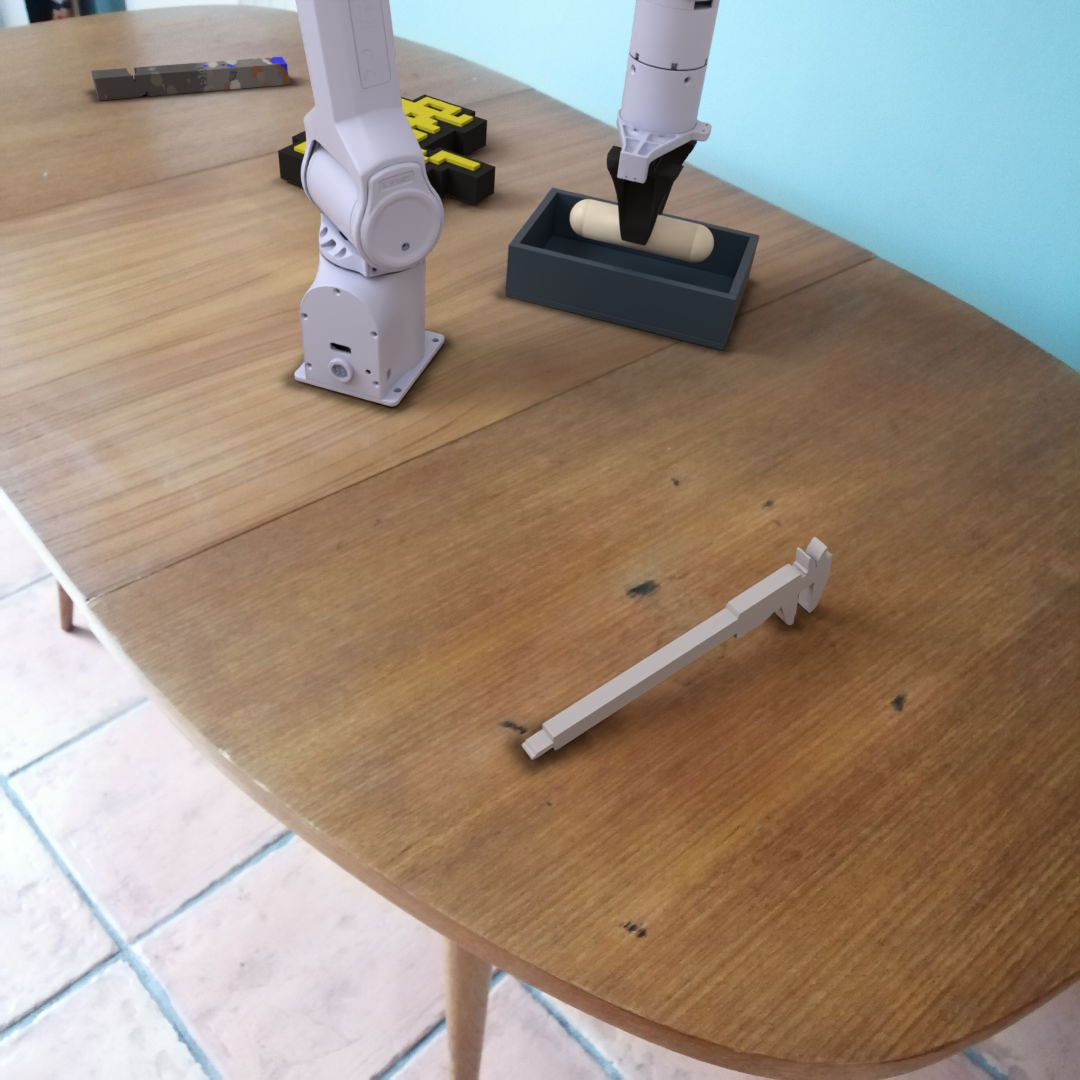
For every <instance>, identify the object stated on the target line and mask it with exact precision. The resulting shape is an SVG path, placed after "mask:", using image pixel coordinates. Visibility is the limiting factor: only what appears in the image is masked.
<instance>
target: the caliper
mask: <svg viewBox="0 0 1080 1080" xmlns="http://www.w3.org/2000/svg"><path fill="white" fill-rule="evenodd" d="M795 551H796V552H795V561H794V562H792V563H793V564H790V563H787V564H785V565H783V566H781V567H780V568H779V569H777V570H776V571H774V572H772V573H771V574H769V575H768V576H766V577H765V578H763V579H761V580H759V582H757V583H755V584H754V585H752V586H750V587H749V588H748V589H746V590H744V591H743V592H741V593H739V594H738V595H737V596H735V597H734V598H732V599H731V600H729V601H728V602H727V603H726V605H725V608H723V609H721V610H720V611H718V612H717V613H715V614H713V615H712V616H710V617H708V618H707V619H706V620H703V621H702V622H701V623H699V624H697V625H696V626H695V627H693V628H691V629H689V630H688V631H686V632H684V634H682V635H680V636H679V637H677V638H675V639H674V640H672V641H670V642H669V643H668V644H666V645H664V646H663V647H661V648H659V649H658V650H656V651H655V652H654V653H652V654H650V655H649V656H647V657H645V658H644V659H642V660H641V661H639V662H637V663H636V664H634V665H633V666H631V667H629V668H627V669H626V670H625V671H623V672H622V673H620V674H619V675H617V676H616V677H613V678H612V679H611V680H609V681H607V682H606V683H604V684H602V685H601V686H599V687H597V689H595V690H594V691H592V692H590V693H588V694H587V695H585V696H584V697H582V698H581V699H579V700H577V701H576V702H574V703H573V704H571V705H570V706H568V707H566V708H565V709H564V710H562V711H560V712H559V713H557V714H556V715H553V716H552V717H550V719H548V720H546V721H545V722H543V723H542V727H541V728H542V729H540V730H538V731H537V732H536V733H534V734H533V735H531V736H529V737H528V738H526V739H525V741H524V742H522V744H521V747H522V748H523V750H524V751H525V752H526V754H527V756H528V757H529V758H530V759H531V760H535V759H537V758H539V757H540V756H542V755H544V754H545V753H546V752H548V751H550V750H551V749H552V750H554V751H558V750H560V749H561V748H563V747H564V746H565V745H567V744H568V743H570V742H572V741H573V740H575V739H576V738H578V737H579V736H580V735H582V734H584V733H585V732H587V731H589V730H590V729H592V728H593V727H595V726H596V725H598V724H599V723H601V722H602V721H604V720H605V719H606V718H609V717H610V716H611V715H613V714H614V713H616V712H617V711H619V710H620V709H622V708H624V707H625V706H627V705H628V704H630V703H631V702H633V701H634V700H636V699H638V698H639V697H640V696H642V695H644V694H645V693H646V692H648V691H650V690H652V689H653V688H654V687H656V686H657V685H659V684H660V683H662V682H663V681H665V680H667V679H669V678H670V677H671V676H673V675H674V674H676V673H678V672H679V671H681V670H682V669H684V668H685V667H687V666H688V665H690V664H692V663H693V662H695V661H696V660H698V659H699V658H701V657H703V656H704V655H705V654H707V653H708V652H711V650H713V649H715V648H716V647H719V645H721V644H722V643H725V642H726V641H728V640H729V639H731V638H732V637H734V639H735V640H740V639H741V638H743V637H744V636H745V635H746V634H748V633H749V632H750V631H752V630H754V629H756V628H758V627H759V626H761V625H762V624H763V623H765V621H767V620H768V619H770V617H772V616H773V615H772V614H773V613H775V614H776V615H777V617H779V618H780V619H781V620H782V621H783V622H784V623H785V624H786V625H787V626H788V625H789V626H792V625H794V622H795V617H796V614H797V611H798V610H797V609H798V604H799V605H800V606H801V607H802V608H803V609H804V610H805V611H807V612H808V613H809V614H811V613H812V611H814V610H815V608H817V607H818V604H819V602H820V600H821V597H822V595H823V592H824V590H825V588H826V585H827V582H828V580H829V578H830V575H831V569H832V563H833V554H832V553H831V552H830V551H829V550H828V546H827V545H826V544H824V543H823V542H822V541H821V540H820V539H819V538H818V537H816V536H813V538H812V539H811V540H810V541H809V543H808V545H807V547H806V549H805V550H804V549H802V548H801V547H800V546H797V548H796V550H795Z"/></svg>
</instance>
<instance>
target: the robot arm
mask: <svg viewBox="0 0 1080 1080" xmlns="http://www.w3.org/2000/svg"><path fill="white" fill-rule="evenodd" d="M720 1H721V0H635V4H634V5H635V6H634V12H633V19H632V26H631V34H630V40H629V49H628V56H627V63H626V70H625V76H624V82H623V83H624V84H623V91H622V99H621V107H620V109H618V111H617V115H616V127H617V134H618V137H619V142H620V146H619V145H618V146H617V145H613V146H611V148H610V149H609V151H608V152H607V155H606V169H607V171H608V173H609V175H610V177H611V178H610V179H611V181H612V183H613V186H614V191H615V194H616V202H617V203H618V213H619V227H620V235H621V240H623V241H627V242H631V243H635V244H639V245H646V243H647V242H648V240H649V238H650V236H651V233H652V231H653V229H654V226H655V223H656V220H657V217H658V215H662V213H664V210H665V208H666V204H667V202H668V199H669V197H670V194H671V191H672V188H673V185H674V183H675V182H676V180H677V179H678V177H679V176H680V175H681V173H682V171H683V169H684V167H685V166H684V165H683V164H684V163H685V161H686V159H688V157H689V155H690V154H691V153H692V152H693V151H694V149H695V147H696V146H697V144H698V142H706V141H708V140H709V138H710V136H711V132H712V128H713V126H712V124H710V123H709V122H705V121H701V120H699V119H698V115H699V111H700V105H701V100H702V96H703V91H704V90H703V89H704V84H705V78H706V74H707V69H708V63H709V60H710V59H709V58H710V54H711V49H712V44H713V37H714V33H715V28H716V21H717V18H718V13H719V6H720ZM390 4H391V3H390V0H295V5H296V12H297V17H298V22H299V27H300V32H301V38H302V43H303V47H304V49H303V50H304V53H305V58H306V65H307V70H308V74H309V75H308V76H309V80H310V85H311V86H310V87H311V90H312V91H311V92H312V97H313V102H314V107H313V108H311V110H309V111H308V112H307V113H306V114H305V116H304V117H303V126H304V131H306V150H305V154H304V158H303V161H302V166H301V181H302V186H303V187H302V186H301V187H302V188H303V191H304V194H305V196H306V197H307V199H308V200H309V201H310V203H311V204H312V205H313V206H314V207H316V208H317V209H318V210H319V211H320V212H319V213H320V215H319V216H320V226H319V230H318V231H319V232H318V248H319V251H318V252H319V261H318V267H317V272H316V275H315V277H314V279H313V281H312V284H311V285H310V286H309V288H308V290H307V291H306V292H305V293H304V295H303V297H302V299H301V302H300V306H299V319H300V321H299V322H300V330H301V331H300V332H301V340H302V341H301V342H302V351H303V353H302V354H303V362H302V364H301V365H300V366H299V367H298V368H297V369H296V370H295V371H294V379H295V380H296V381H298V382H301V383H305V384H308V385H312V386H315V387H317V388H323V389H326V390H329V391H333V392H336V393H340V394H344V395H349V396H351V397H355V398H359V399H362V400H365V401H370V402H374V403H377V404H381V405H384V406H387V407H396V406H398V405H399V404H400V402H401V401H402V399H403V398H404V397H405V396H406V394H407V393H408V391H410V389H411V388H412V386H413V385H414V383H415V382H416V381H417V380H418V379H419V377H420V375H421V374H422V373H423V372H424V370H425V369H426V368H427V366H428V365H429V364H430V362H431V361H432V360H433V358H434V357H435V355H437V353H438V351H440V349H441V348H442V346H443V344H444V343H445V340H446V339H445V338H446V337H445V335H443V334H442V333H438V332H434V331H430V330H428V329H427V330H426V275H427V274H426V273H427V272H426V267H427V266H426V264H427V257H428V256H429V255H430V254H431V253H432V251H433V250H434V249H435V247H436V246H437V244H438V242H439V240H440V238H441V235H442V233H443V230H444V225H445V209H444V205H443V202H442V199H440V197H439V195H438V194H437V192H436V191H435V190H434V188H433V187H432V186H431V184H430V182H429V180H428V177H427V174H426V169H425V160H424V155H423V152H422V150H421V148H420V146H419V143H418V141H417V139H416V137H415V135H414V132H413V130H412V128H411V126H410V124H409V122H408V120H407V118H406V115H405V113H404V111H403V108H402V100H401V97H402V94H401V85H400V84H401V83H400V76H399V68H398V60H397V52H396V45H395V37H394V36H395V35H394V29H393V20H392V13H391V5H390Z"/></svg>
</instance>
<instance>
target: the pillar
mask: <svg viewBox="0 0 1080 1080" xmlns="http://www.w3.org/2000/svg"><path fill="white" fill-rule="evenodd" d="M133 70H134V75H133V74H131V73H130V72H129V71H128V69H127V68H126V67H124V68H110V69H95V70H90V71H91V72H90V73H91V77H92V80H93V85H94V90H95V95H96V96H97V100H98V101H110V100H120V99H133V98H142V96H148V97H156V96H169V95H179V94H180V95H181V94H191V93H192V94H193V93H204V92H205V93H206V92H215V91H216V92H217V91H228V90H238V89H239V90H240V89H251V88H263V87H274V86H275V87H276V86H287V85H291V81H292V78H291V76H289V71H288V63H287V62H286V60H285V59H284V58H283V56H271V57H270V56H269V57H258V58H257V57H256V58H243V59H231V60H230V59H229V60H217V61H204V62H190V63H189V62H188V63H177V64H165V65H163V64H161V65H149V66H137V67H133Z"/></svg>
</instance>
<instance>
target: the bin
mask: <svg viewBox="0 0 1080 1080" xmlns="http://www.w3.org/2000/svg"><path fill="white" fill-rule="evenodd" d="M585 199H592V200H596V201H601V202H605V203H609V204H614V205H618V202H617V201H612V200H608V199H603V198H600V197H595V196H591V195H587V194H582V193H578V192H574V191H570V190H565V189H562V188H561V189H560V188H556V187H551V189H550V190H549V191H548V192H547V194H546V195H545V196H544V198H543V199H542V201H540V203H539V204H538V205H537V207H535V210H534V211H533V212H532V213H531V215H530V216H529V218H528V219H527V220H526V221H525V223H524V224H523V225H522V227H521V228H520V229H519V231H518V232H517V233H516V235H515V236H514V237H513V239H512V240H511V241H510V243H509V244H508V246H507V247H508V248H507V260H506V263H507V264H506V276H505V278H506V279H505V292H504V296H506V297H509V298H513V299H516V300H521V301H525V302H529V303H532V304H536V305H540V306H545V307H548V308H553V309H556V310H560V311H564V312H569V313H572V314H577V315H581V316H583V317H584V316H585V317H588V318H592V319H596V320H600V321H605V322H608V323H612V324H616V325H620V326H624V327H628V328H631V329H635V330H640V331H643V332H644V331H645V332H648V333H652V334H656V335H660V336H664V337H668V338H672V339H676V340H679V341H683V342H688V343H690V344H695V345H700V346H703V347H707V348H712V349H715V350H719V351H724V350H725V347H726V344H727V341H728V338H729V336H730V333H731V330H732V327H733V324H734V321H735V318H736V316H737V313H738V310H739V308H740V304H741V302H742V299H743V297H744V294H745V291H746V289H747V286H748V284H749V283H748V282H749V279H750V275H751V272H752V266H753V263H754V259H755V254H756V251H757V248H758V244H759V239H760V234H757V233H756V234H755V233H753V232H748V231H743V230H738V229H734V228H730V227H725V226H722V225H717V224H713V223H709V222H704V221H699V220H696V219H690V218H686V217H682V216H677V215H673V214H670V213H664V212H663V213H662V216H666V217H670V218H675V219H679V220H683V221H688V222H692V223H696V224H700V225H703V226H705V227H707V228H708V229H709V230H710V232H711V233H712V235H713V239H714V246H713V250H712V252H711V254H710V255H709V256H708V257H707V258H706V259H705V260H703V261H701V262H697V263H692V262H687V261H683V260H678V259H674V258H670V257H666V256H661V255H657V254H653V253H649V252H645V251H640V250H636V249H632V248H628V247H623V246H619V245H615V244H611V243H606V242H602V241H598V240H594V239H590V238H585V237H582V236H580V235H578V234H577V233H575V232H574V230H573V229H572V227H571V224H570V213H571V210H572V208H573V207H574V206H575V204H577V203H578V202H580V201H581V200H585Z"/></svg>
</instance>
